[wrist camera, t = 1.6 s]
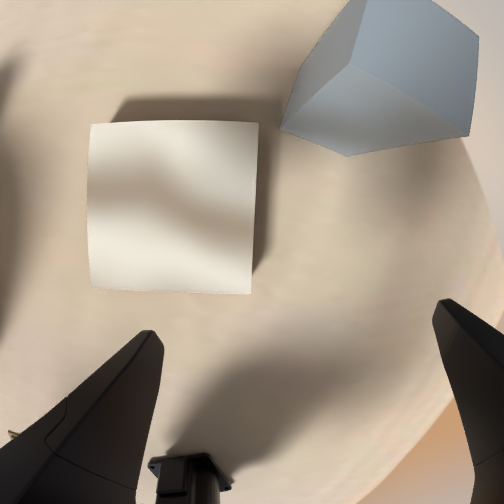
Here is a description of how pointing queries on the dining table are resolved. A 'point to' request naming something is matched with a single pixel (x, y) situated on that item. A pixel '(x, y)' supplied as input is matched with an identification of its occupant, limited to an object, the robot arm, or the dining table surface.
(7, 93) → the dining table surface
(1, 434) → the dining table surface
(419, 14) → the slate block
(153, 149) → the plinth
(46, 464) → the robot arm
